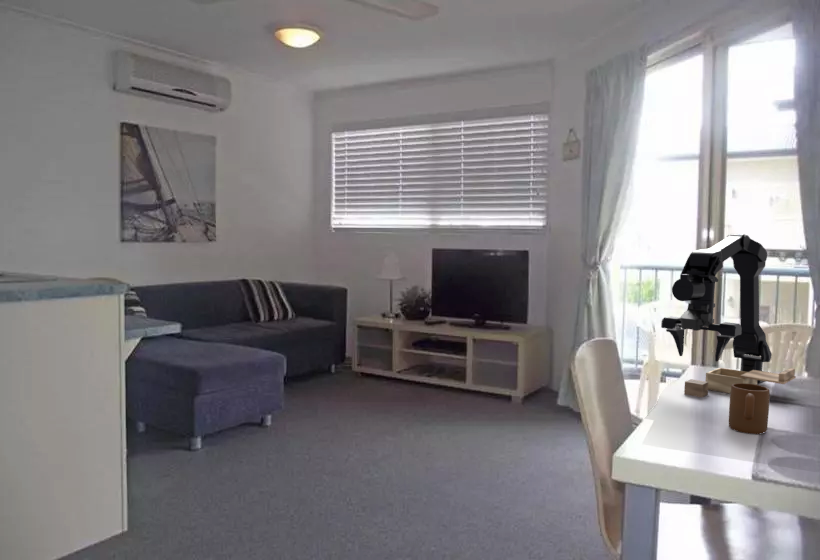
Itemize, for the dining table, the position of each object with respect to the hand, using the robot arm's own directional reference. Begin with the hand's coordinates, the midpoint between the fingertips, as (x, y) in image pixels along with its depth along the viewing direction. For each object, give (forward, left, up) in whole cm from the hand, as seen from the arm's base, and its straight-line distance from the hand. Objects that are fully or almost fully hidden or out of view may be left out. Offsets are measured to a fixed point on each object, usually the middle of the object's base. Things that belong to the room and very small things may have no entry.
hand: (698, 358), depth 177 cm
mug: (+27, +20, -10) cm, 35 cm away
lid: (-13, +13, -5) cm, 20 cm away
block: (0, 0, -10) cm, 10 cm away
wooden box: (-13, +4, -10) cm, 17 cm away
